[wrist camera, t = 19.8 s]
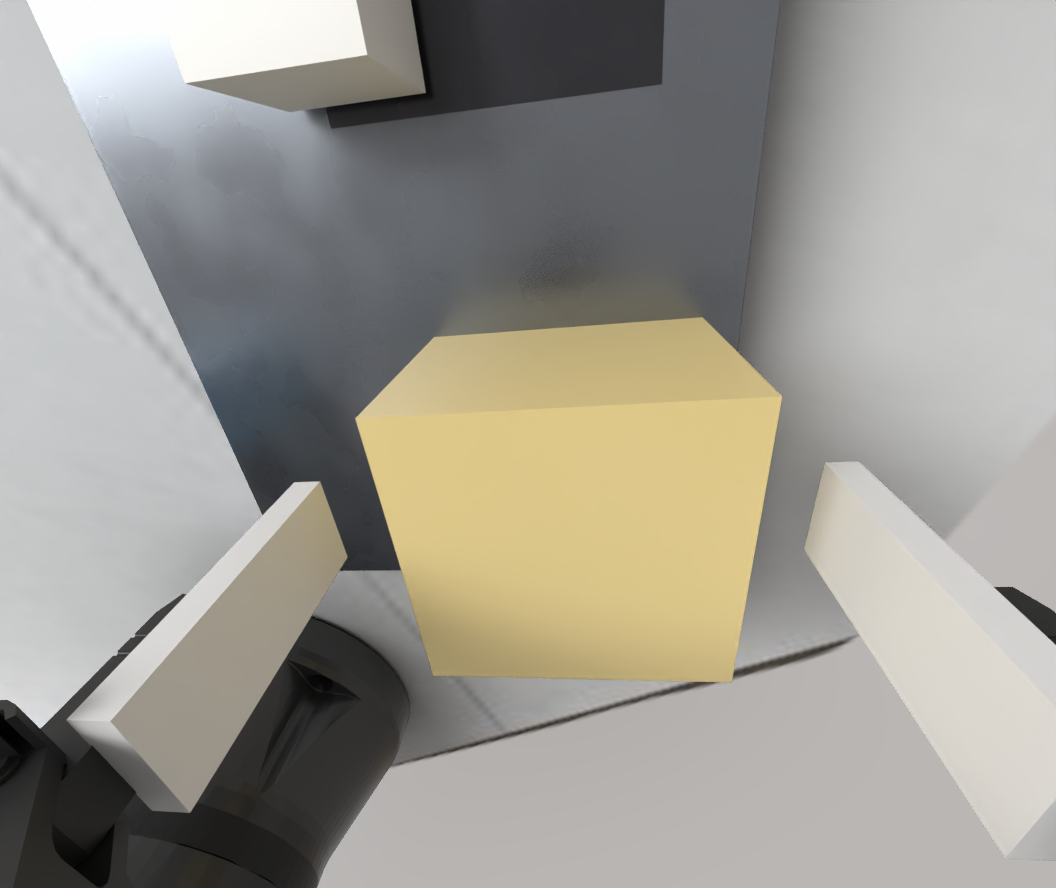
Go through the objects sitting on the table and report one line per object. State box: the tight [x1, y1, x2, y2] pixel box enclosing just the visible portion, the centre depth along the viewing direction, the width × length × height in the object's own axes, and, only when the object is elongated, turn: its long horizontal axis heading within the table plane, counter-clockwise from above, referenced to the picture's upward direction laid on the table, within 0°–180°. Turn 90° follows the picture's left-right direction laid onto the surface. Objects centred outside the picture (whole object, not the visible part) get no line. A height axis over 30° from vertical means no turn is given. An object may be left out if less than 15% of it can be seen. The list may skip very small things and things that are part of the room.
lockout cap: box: [355, 317, 782, 682], centre depth 13 cm, size 8×8×6 cm
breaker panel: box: [27, 0, 780, 571], centre depth 15 cm, size 23×18×3 cm
